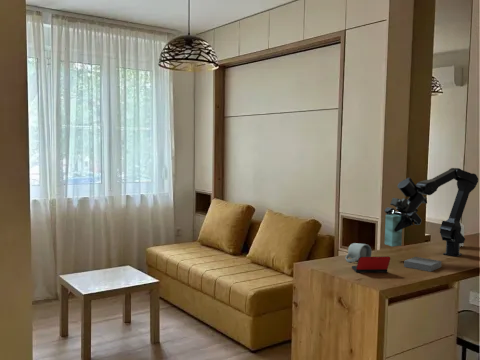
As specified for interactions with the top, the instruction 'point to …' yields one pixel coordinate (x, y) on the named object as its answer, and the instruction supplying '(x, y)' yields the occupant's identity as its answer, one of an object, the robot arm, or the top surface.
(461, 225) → the photo printer
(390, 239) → the teal block
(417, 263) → the gray square slab
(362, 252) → the ceramic mug
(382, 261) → the handheld game console
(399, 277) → the top surface
